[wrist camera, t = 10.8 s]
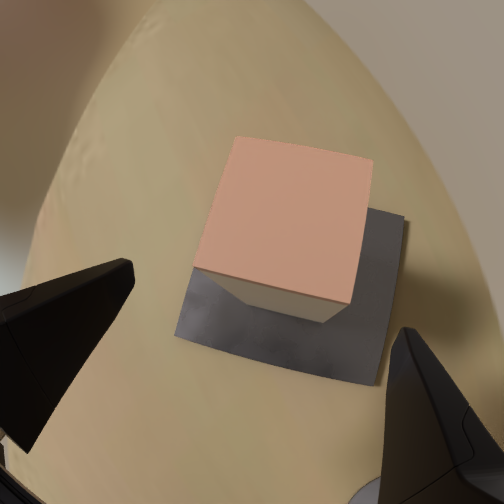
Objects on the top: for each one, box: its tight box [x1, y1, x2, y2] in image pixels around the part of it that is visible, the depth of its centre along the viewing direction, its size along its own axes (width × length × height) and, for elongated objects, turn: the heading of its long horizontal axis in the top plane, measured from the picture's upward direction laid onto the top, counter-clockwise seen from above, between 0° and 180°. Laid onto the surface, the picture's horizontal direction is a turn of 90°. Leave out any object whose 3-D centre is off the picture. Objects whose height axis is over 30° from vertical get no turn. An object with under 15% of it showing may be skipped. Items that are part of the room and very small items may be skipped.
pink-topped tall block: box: [192, 136, 373, 323], centre depth 17 cm, size 6×6×12 cm
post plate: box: [174, 208, 404, 386], centre depth 21 cm, size 13×15×5 cm
